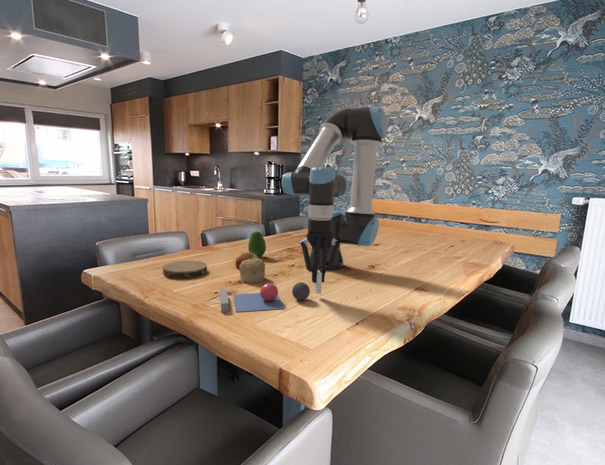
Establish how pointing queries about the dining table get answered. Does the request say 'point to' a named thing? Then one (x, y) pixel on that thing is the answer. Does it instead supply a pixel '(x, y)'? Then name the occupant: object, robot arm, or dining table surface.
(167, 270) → the round stone disc
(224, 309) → the wall
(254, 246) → the fruit
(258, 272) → the coral
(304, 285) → the dark gray ball
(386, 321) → the dining table surface
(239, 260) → the bread roll
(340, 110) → the robot arm
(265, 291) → the red object ball
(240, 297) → the blue flat square slab
